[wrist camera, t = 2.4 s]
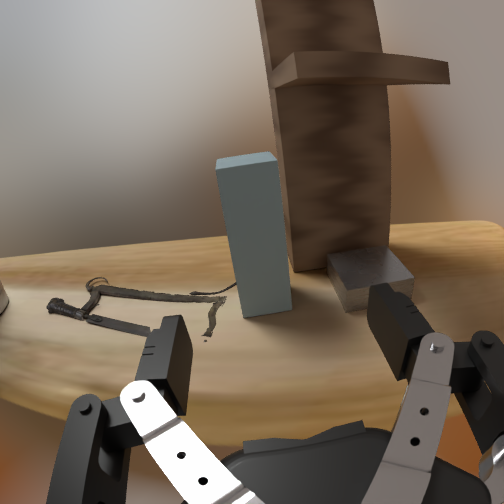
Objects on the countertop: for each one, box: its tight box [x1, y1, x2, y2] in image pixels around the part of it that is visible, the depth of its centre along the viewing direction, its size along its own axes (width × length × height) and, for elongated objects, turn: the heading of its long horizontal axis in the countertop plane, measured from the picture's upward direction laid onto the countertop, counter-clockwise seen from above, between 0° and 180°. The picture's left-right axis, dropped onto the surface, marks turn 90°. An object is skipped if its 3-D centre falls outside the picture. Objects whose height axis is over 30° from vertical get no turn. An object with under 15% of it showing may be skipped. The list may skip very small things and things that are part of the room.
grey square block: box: [327, 245, 415, 313], centre depth 26 cm, size 6×6×2 cm
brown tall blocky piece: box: [255, 0, 450, 272], centre depth 21 cm, size 10×13×27 cm
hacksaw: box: [47, 277, 237, 342], centre depth 29 cm, size 24×10×2 cm, turn 73°
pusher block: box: [216, 151, 292, 318], centre depth 24 cm, size 4×4×12 cm
